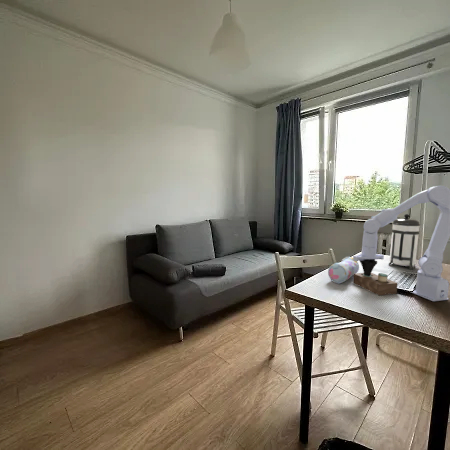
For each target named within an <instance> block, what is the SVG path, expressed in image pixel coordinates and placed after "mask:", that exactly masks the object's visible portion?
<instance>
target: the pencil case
mask: <svg viewBox="0 0 450 450" xmlns="http://www.w3.org/2000/svg"><path fill="white" fill-rule="evenodd" d="M359 270H360V264H359V262H358V261H354V260H353V256H352V257H351V256H344V258H342V259H341V262H335V263H332V264H331V265H329V267H328V270H327V271H328V272H327V274H328V277H329V279H330V280H331V281H332V282H334V283H335V284H342V283H344V282H346V281H347V280H349V279H350V278H351V277H354V274H355V273H359Z"/></svg>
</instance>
